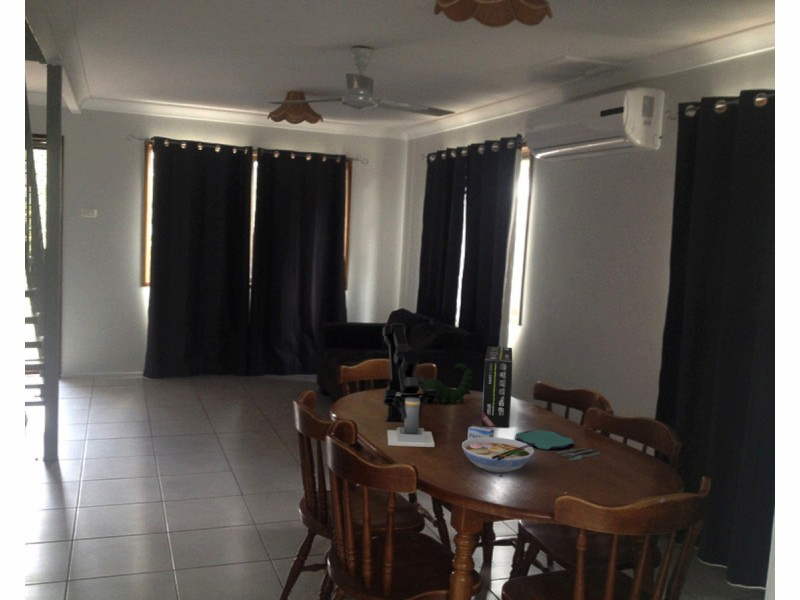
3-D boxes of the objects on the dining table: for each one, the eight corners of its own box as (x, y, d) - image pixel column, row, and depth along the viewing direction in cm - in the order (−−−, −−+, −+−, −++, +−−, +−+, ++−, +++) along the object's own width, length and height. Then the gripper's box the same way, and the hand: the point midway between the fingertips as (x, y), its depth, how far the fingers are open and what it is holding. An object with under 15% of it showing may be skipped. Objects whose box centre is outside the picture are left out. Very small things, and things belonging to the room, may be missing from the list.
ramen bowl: (487, 453, 245) (488, 430, 244) (547, 469, 231) (549, 444, 230) (443, 469, 226) (445, 444, 225) (507, 488, 211) (508, 461, 211)
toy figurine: (463, 404, 324) (410, 399, 317) (469, 362, 323) (416, 357, 316) (471, 409, 315) (416, 405, 308) (477, 366, 314) (423, 361, 307)
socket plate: (387, 432, 265) (388, 423, 265) (431, 434, 266) (431, 425, 265) (388, 445, 249) (388, 435, 249) (434, 447, 250) (434, 437, 249)
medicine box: (466, 452, 245) (467, 427, 244) (471, 449, 249) (472, 425, 248) (488, 457, 241) (489, 431, 241) (492, 453, 245) (494, 428, 245)
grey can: (407, 431, 259) (408, 396, 257) (420, 434, 256) (422, 398, 255) (401, 435, 254) (403, 398, 253) (414, 437, 252) (416, 400, 251)
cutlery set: (545, 433, 276) (545, 427, 276) (605, 456, 251) (605, 450, 250) (505, 439, 265) (505, 433, 265) (563, 464, 240) (564, 457, 240)
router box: (483, 405, 316) (487, 345, 313) (508, 407, 314) (512, 347, 312) (480, 426, 280) (484, 358, 278) (509, 429, 279) (513, 360, 277)
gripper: (386, 367, 255) (390, 405, 245) (437, 367, 259) (443, 405, 249) (381, 384, 263) (385, 421, 254) (430, 384, 267) (436, 421, 257)
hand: (412, 417), depth 253 cm, fingers closed on grey can, 5 cm apart
